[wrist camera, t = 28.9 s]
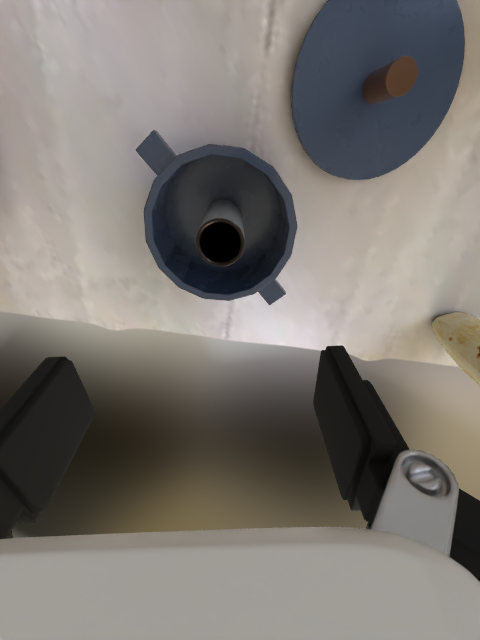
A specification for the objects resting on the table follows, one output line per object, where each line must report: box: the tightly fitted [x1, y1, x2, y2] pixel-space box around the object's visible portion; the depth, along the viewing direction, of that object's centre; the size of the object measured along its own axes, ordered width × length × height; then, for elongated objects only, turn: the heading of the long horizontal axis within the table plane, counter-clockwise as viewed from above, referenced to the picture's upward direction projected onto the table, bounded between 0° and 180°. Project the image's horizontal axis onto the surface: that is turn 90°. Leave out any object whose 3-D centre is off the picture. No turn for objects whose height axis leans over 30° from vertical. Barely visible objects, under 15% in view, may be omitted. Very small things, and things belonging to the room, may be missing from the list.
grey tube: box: [196, 199, 245, 267], centre depth 30 cm, size 4×4×10 cm
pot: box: [136, 130, 297, 305], centre depth 32 cm, size 15×21×8 cm
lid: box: [292, 0, 465, 180], centre depth 26 cm, size 16×16×6 cm
